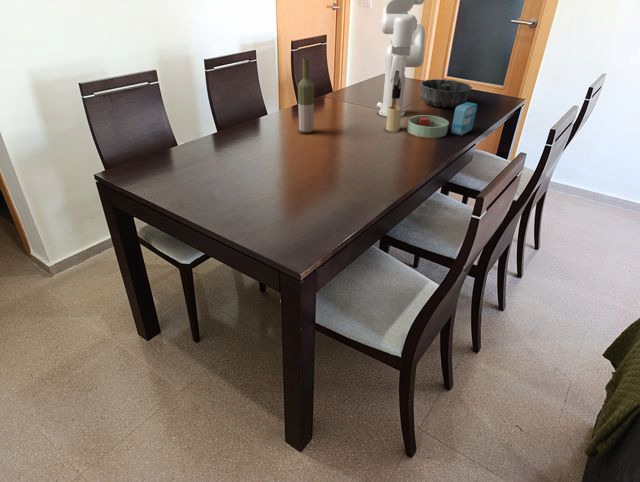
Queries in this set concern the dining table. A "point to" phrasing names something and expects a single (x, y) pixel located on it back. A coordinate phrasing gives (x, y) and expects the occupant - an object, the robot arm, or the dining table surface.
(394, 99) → the stick
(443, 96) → the bundt pan
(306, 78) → the bottle
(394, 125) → the crock
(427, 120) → the block
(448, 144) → the dining table surface
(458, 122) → the data package
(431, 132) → the bowl
